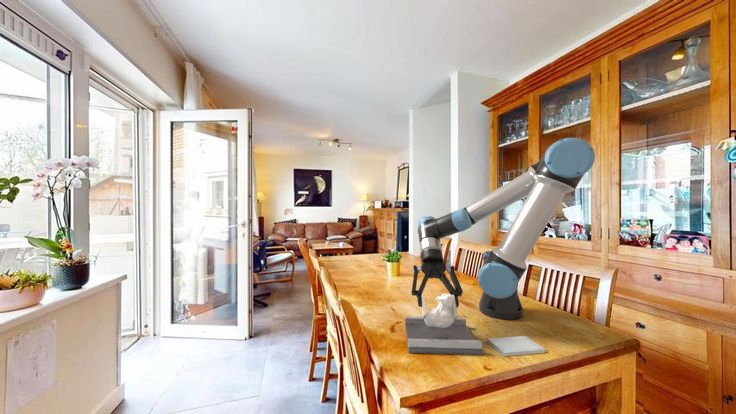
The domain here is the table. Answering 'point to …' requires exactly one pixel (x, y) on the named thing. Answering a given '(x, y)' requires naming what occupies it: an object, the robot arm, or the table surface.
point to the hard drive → (515, 346)
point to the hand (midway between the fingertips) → (440, 317)
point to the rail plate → (441, 338)
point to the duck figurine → (441, 312)
